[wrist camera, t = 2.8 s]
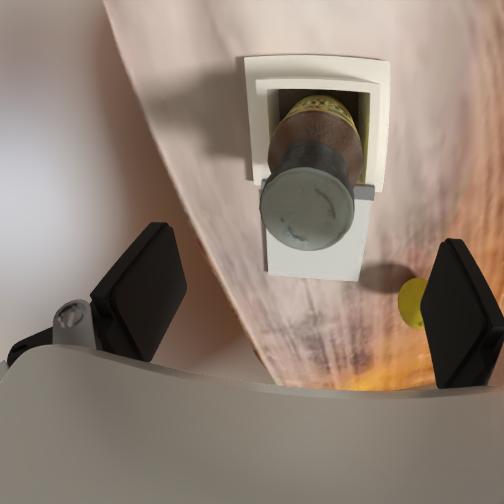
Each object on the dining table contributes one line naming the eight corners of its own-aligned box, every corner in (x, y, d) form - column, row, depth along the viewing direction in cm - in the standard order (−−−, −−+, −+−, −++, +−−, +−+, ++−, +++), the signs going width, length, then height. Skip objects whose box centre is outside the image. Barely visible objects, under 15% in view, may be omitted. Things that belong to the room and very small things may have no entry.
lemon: (428, 261, 34) (444, 304, 27) (432, 290, 36) (445, 333, 30) (390, 272, 36) (399, 317, 30) (397, 300, 39) (404, 344, 32)
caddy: (387, 61, 22) (409, 61, 16) (380, 188, 30) (394, 223, 24) (246, 57, 25) (223, 56, 19) (255, 181, 33) (239, 213, 27)
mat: (370, 195, 31) (371, 198, 30) (357, 278, 38) (358, 281, 37) (265, 189, 33) (264, 192, 33) (269, 272, 40) (268, 274, 40)
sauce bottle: (349, 92, 25) (399, 142, 9) (350, 151, 28) (383, 276, 13) (285, 93, 26) (228, 142, 11) (290, 150, 30) (248, 271, 14)
